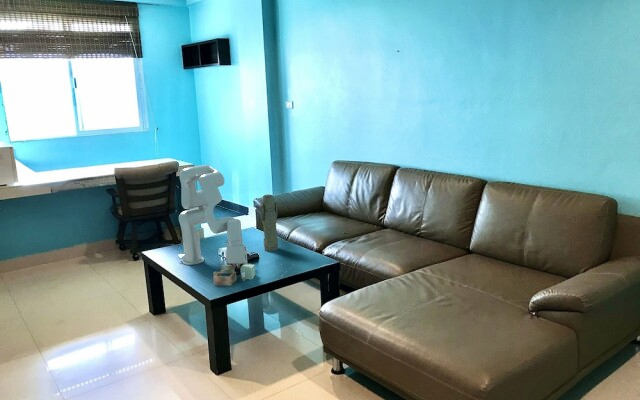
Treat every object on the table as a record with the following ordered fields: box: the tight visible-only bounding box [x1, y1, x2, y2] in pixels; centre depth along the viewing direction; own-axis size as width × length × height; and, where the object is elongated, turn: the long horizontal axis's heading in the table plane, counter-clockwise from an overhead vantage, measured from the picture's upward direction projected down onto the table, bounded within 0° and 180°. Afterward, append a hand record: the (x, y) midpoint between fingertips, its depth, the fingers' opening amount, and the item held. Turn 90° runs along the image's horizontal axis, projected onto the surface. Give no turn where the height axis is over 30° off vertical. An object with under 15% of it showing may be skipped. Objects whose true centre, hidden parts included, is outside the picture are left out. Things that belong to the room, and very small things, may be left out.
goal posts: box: [240, 263, 253, 283], centre depth 267 cm, size 2×14×5 cm, turn 171°
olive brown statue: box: [259, 194, 279, 253], centre depth 309 cm, size 9×12×35 cm
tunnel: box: [212, 264, 242, 286], centre depth 266 cm, size 12×18×4 cm, turn 171°
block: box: [240, 264, 256, 280], centre depth 267 cm, size 6×6×6 cm
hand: (237, 274), depth 268 cm, fingers closed
